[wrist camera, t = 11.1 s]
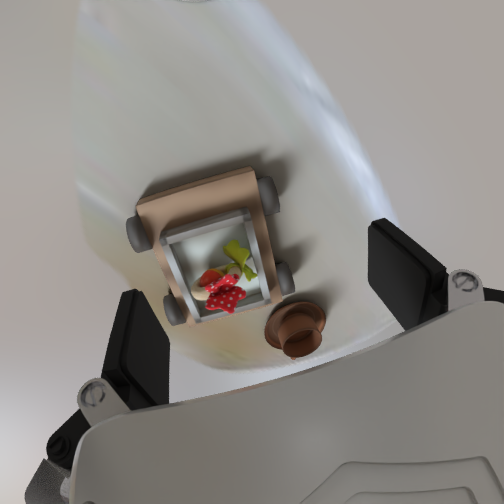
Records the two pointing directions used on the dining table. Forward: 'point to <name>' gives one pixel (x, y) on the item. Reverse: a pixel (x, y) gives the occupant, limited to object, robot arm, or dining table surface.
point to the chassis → (211, 240)
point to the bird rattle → (224, 280)
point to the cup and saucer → (296, 329)
